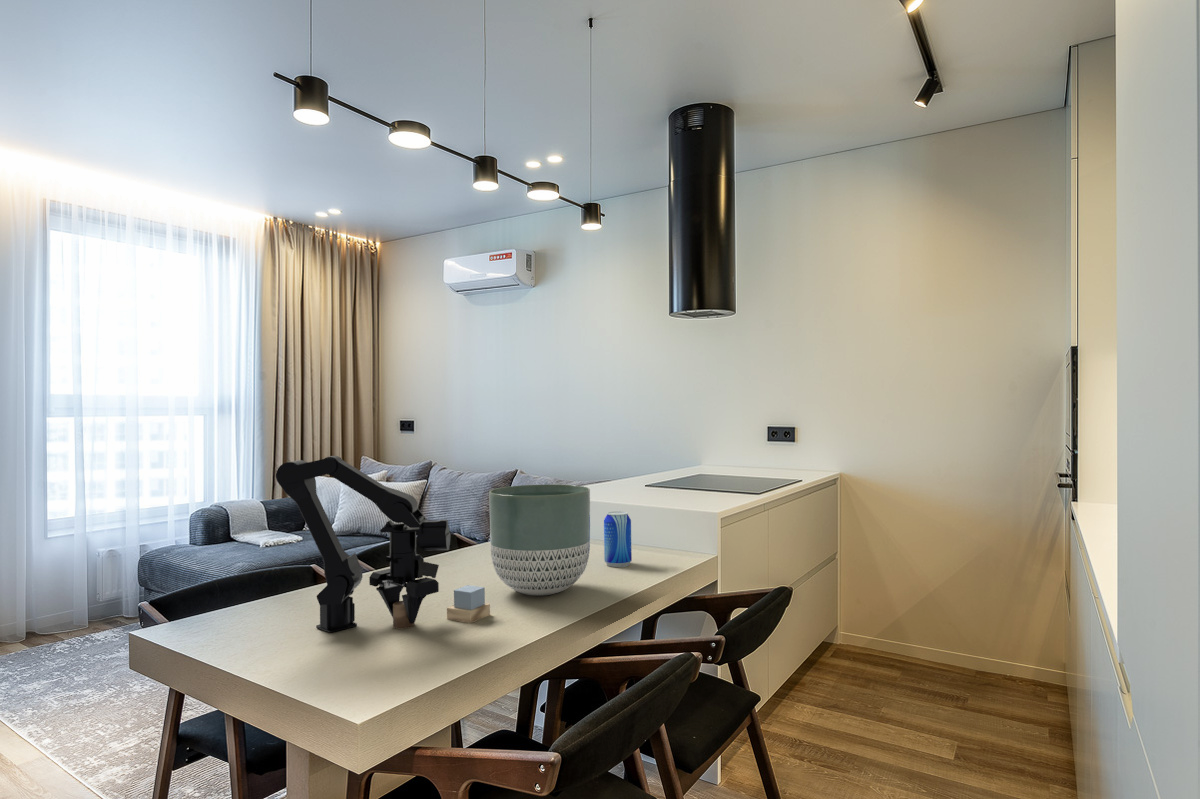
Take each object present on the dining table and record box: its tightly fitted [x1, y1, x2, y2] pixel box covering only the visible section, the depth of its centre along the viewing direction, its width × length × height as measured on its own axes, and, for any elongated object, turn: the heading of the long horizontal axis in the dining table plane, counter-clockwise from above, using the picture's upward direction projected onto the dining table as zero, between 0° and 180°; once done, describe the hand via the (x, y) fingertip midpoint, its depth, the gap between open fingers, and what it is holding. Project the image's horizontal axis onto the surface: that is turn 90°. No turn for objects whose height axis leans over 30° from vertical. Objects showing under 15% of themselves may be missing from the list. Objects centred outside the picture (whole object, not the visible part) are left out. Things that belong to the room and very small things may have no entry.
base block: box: [446, 602, 491, 624], centre depth 159 cm, size 7×7×3 cm
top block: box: [453, 584, 486, 610], centre depth 159 cm, size 5×5×4 cm
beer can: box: [603, 510, 633, 568], centre depth 211 cm, size 8×8×16 cm
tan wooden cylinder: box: [392, 600, 415, 630], centre depth 154 cm, size 5×5×5 cm
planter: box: [488, 483, 591, 596], centre depth 181 cm, size 27×27×27 cm
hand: (403, 620), depth 154 cm, fingers open, 6 cm apart
